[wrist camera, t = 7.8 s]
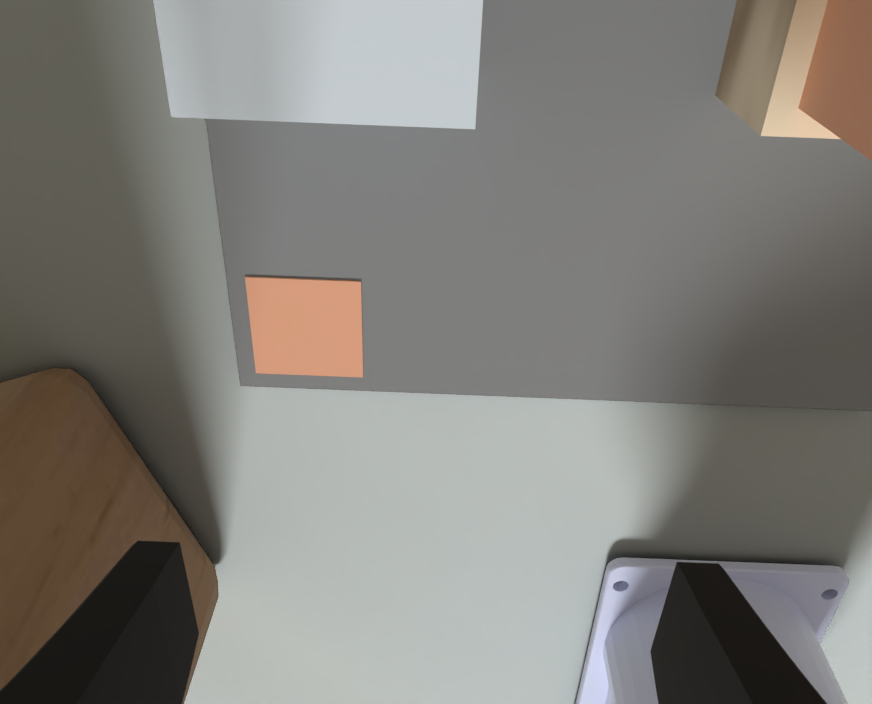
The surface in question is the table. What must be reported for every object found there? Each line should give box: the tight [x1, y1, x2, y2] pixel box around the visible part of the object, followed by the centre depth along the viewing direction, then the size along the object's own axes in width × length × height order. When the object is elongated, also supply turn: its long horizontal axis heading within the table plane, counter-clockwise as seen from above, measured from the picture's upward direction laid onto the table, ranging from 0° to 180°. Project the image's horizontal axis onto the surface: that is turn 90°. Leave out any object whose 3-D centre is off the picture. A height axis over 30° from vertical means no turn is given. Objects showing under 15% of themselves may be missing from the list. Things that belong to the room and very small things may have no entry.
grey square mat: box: [206, 0, 872, 411], centre depth 17 cm, size 16×18×1 cm
